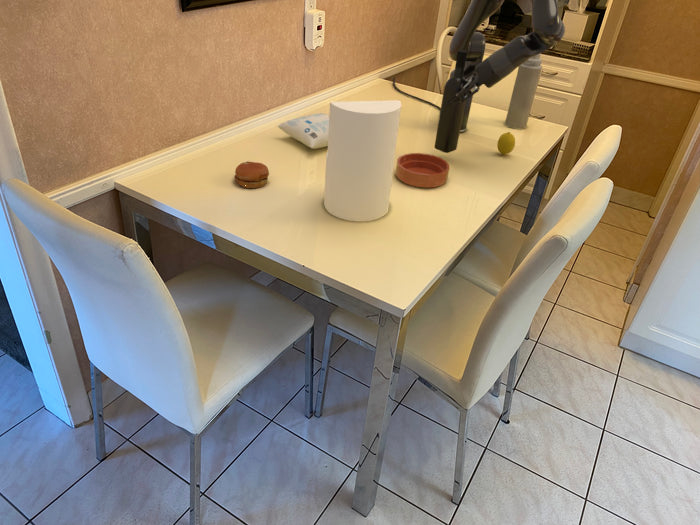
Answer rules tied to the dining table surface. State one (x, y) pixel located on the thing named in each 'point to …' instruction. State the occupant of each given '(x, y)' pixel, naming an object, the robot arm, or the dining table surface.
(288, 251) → the dining table surface
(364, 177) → the cylinder
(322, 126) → the pouch
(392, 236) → the dining table surface
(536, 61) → the thermos bottle
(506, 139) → the lemon
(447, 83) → the wine bottle
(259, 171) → the burger
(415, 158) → the dish
